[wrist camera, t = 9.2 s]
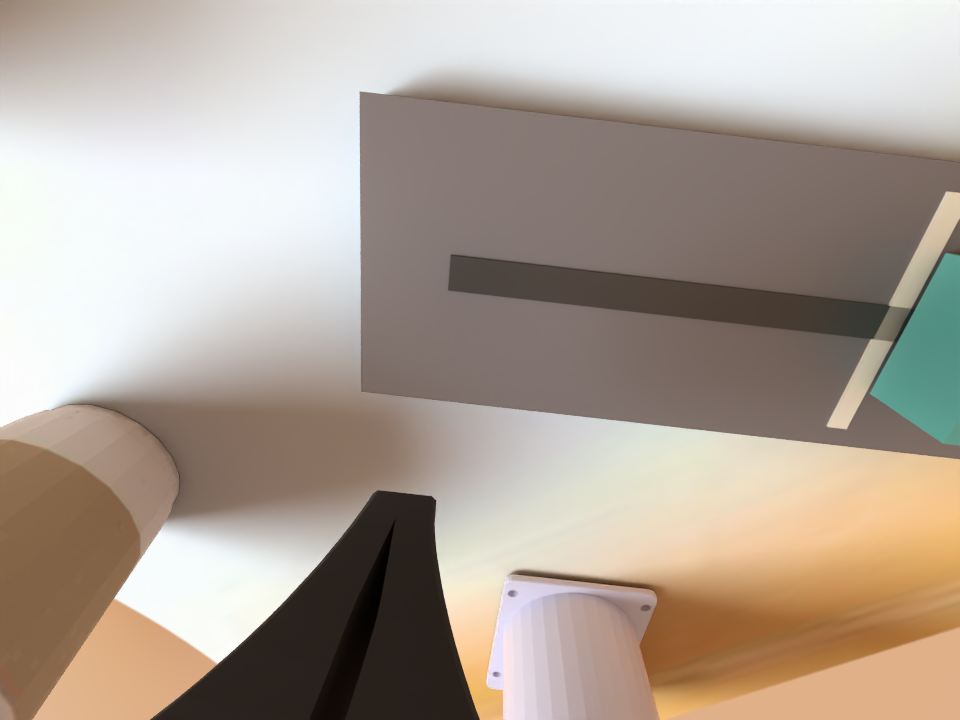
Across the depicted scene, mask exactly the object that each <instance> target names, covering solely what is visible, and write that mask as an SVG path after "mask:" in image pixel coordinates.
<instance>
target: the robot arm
mask: <svg viewBox="0 0 960 720" xmlns="http://www.w3.org/2000/svg"><path fill="white" fill-rule="evenodd" d="M435 511H436V500H435V499H434V498H433V497H432V496H424V495H415V494H406V493H397V492H388V491H379V490H378V491H376V492H375V493H373V495H372V496H371V498H370V499H369V501H368V502H367V504H366V505H365V507H364V508H363V509H362V511H361V512H360V514H359V515H358V516H357V518H356V519H355V520H354V522H353V523H352V524H351V526H350V527H349V528H348V529H347V531H346V532H345V533H344V535H343V536H342V537H341V538H340V540H339V541H338V542H337V543H336V544H335V545H334V547H333V548H332V549H331V550H330V551H329V553H328V554H327V555H326V556H325V557H324V559H323V560H322V561H321V562H320V563H319V565H318V566H317V567H316V568H315V569H314V570H313V571H312V572H311V574H310V575H309V576H308V577H307V578H306V579H305V580H304V581H303V582H302V583H301V584H300V585H299V586H298V588H297V589H296V590H295V591H294V592H293V593H292V594H291V595H290V596H289V597H288V598H287V599H286V600H285V601H284V603H283V604H282V605H281V606H280V607H279V608H278V609H277V610H276V611H275V612H274V613H273V614H272V615H271V616H270V617H269V618H268V619H267V620H266V621H264V622H263V623H262V624H261V625H260V626H259V627H258V628H257V629H256V630H255V631H254V632H253V633H252V634H251V635H250V636H249V637H248V638H247V639H246V640H244V641H243V642H242V643H241V644H240V645H239V646H238V647H237V648H236V649H235V650H233V651H232V652H231V653H230V654H229V655H228V656H227V657H225V658H224V659H223V660H222V661H221V662H220V663H219V664H218V665H216V666H215V667H214V668H213V669H212V670H211V671H210V672H208V673H207V674H206V675H205V676H204V677H203V678H201V679H200V680H199V681H198V682H197V683H196V684H194V685H193V686H192V687H191V688H190V689H188V690H187V691H186V692H185V693H184V694H182V695H181V696H180V697H179V698H177V699H176V700H175V701H174V702H172V703H171V704H170V705H169V706H167V707H166V708H165V709H163V710H162V711H161V712H159V713H158V714H157V715H156V716H154V717H153V718H152V719H151V720H480V719H479V716H478V714H477V711H476V708H475V706H474V703H473V700H472V697H471V694H470V690H469V687H468V684H467V681H466V678H465V675H464V672H463V669H462V665H461V662H460V658H459V655H458V652H457V648H456V645H455V641H454V637H453V633H452V629H451V625H450V621H449V617H448V613H447V608H446V604H445V600H444V595H443V590H442V584H441V578H440V572H439V566H438V560H437V552H436V542H435V526H434V522H435ZM657 600H658V599H657V596H656V594H655V592H654V591H652V590H649V589H642V588H633V587H624V586H615V585H606V584H597V583H588V582H579V581H570V580H561V579H552V578H543V577H533V576H524V575H515V574H514V575H509V576H507V577H506V578H505V580H504V586H503V591H502V597H501V602H500V607H499V613H498V618H497V624H496V629H495V634H494V640H493V645H492V651H491V656H490V661H489V667H488V672H487V678H486V684H487V686H488V687H489V688H491V689H498V690H503V720H660V719H659V716H658V712H657V708H656V705H655V701H654V697H653V694H652V690H651V686H650V683H649V679H648V675H647V672H646V668H645V664H644V661H643V657H642V653H641V650H640V644H641V641H642V639H643V636H644V634H645V631H646V629H647V626H648V624H649V621H650V619H651V616H652V614H653V611H654V609H655V606H656V604H657Z"/></svg>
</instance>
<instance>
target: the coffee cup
mask: <svg viewBox="0 0 960 720" xmlns="http://www.w3.org/2000/svg"><path fill="white" fill-rule="evenodd" d="M178 494H179V474H178V471H177V468H176V466H175V463H174V460H173V458H172V457H171V455H170V454H169V452H168V451H167V450H166V448H165V447H164V446H163V444H162V443H161V442H160V440H159V439H157V438H156V437H155V436H154V435H153V434H151V433H150V432H149V431H148V430H147V429H145V428H144V427H143V426H142V425H140V424H139V423H137V422H135V421H133V420H131V419H130V418H128V417H126V416H124V415H122V414H120V413H118V412H116V411H112V410H109V409H105V408H101V407H97V406H94V405H65V406H62V407H59V408H56V409H53V410H45V411H42V412H39V413H36V414H33V415H30V416H26V417H24V418H21V419H19V420H17V421H14V422H12V423H10V424H7V425H5V426H3V427H0V720H32V719H33V718H34V716H35V715H36V713H37V711H38V710H39V709H40V707H41V706H42V704H43V703H44V701H45V700H46V698H47V697H48V695H49V694H50V692H51V691H52V689H53V688H54V686H55V685H56V683H57V682H58V680H59V679H60V678H61V676H62V675H63V673H64V672H65V670H66V668H67V667H68V666H69V664H70V663H71V661H72V660H73V658H74V657H75V655H76V654H77V652H78V651H79V649H80V648H81V646H82V645H83V643H84V642H85V640H86V639H87V637H88V636H89V635H90V633H91V632H92V630H93V629H94V627H95V626H96V624H97V622H98V621H99V620H100V618H101V617H102V615H103V614H104V612H105V611H106V609H107V608H108V606H109V605H110V603H111V602H112V600H113V599H114V597H115V596H116V594H117V593H118V592H119V590H120V589H121V587H122V586H123V584H124V583H125V581H126V580H127V578H128V577H129V575H130V574H131V572H132V571H133V569H134V568H135V566H136V565H137V563H138V562H139V560H140V559H141V557H142V556H143V554H144V553H145V551H146V550H147V548H148V547H149V546H150V544H151V543H152V541H153V540H154V538H155V537H156V535H157V534H158V532H159V531H160V529H161V528H162V526H163V525H164V523H165V521H166V520H167V518H168V516H169V514H170V512H171V510H172V505H173V503H174V501H175V499H176V497H177V496H178Z"/></svg>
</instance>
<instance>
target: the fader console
mask: <svg viewBox="0 0 960 720" xmlns="http://www.w3.org/2000/svg"><path fill="white" fill-rule="evenodd" d="M360 215H361V384H362V392H371V393H379V394H388V395H397V396H406V397H415V398H424V399H432V400H441V401H450V402H459V403H468V404H477V405H486V406H494V407H503V408H512V409H521V410H530V411H539V412H547V413H556V414H565V415H574V416H583V417H592V418H601V419H609V420H618V421H627V422H636V423H645V424H654V425H662V426H671V427H680V428H689V429H698V430H707V431H716V432H724V433H733V434H742V435H751V436H760V437H769V438H777V439H786V440H795V441H804V442H813V443H822V444H831V445H839V446H848V447H857V448H866V449H875V450H884V451H892V452H901V453H910V454H919V455H928V456H937V457H946V458H954V459H960V446H959V445H950V444H943V443H941V442H940V441H938V440H937V439H935V438H934V437H932V436H931V435H929V434H928V433H927V432H925V431H924V430H922V429H921V428H919V427H918V426H916V425H915V424H913V423H912V422H910V421H909V420H908V419H906V418H905V417H903V416H902V415H900V414H899V413H897V412H896V411H894V410H893V409H891V408H890V407H889V406H887V405H886V404H884V403H883V402H881V401H880V400H878V399H877V398H875V397H874V396H872V395H871V394H870V392H871V390H872V389H873V387H874V385H875V383H876V381H877V379H878V377H879V376H880V374H881V372H882V370H883V368H884V366H885V364H886V363H887V361H888V359H889V357H890V355H891V353H892V352H893V350H894V348H895V346H896V344H897V342H898V340H899V339H900V337H901V335H902V333H903V331H904V329H905V328H906V326H907V324H908V322H909V320H910V318H911V316H912V315H913V313H914V311H915V309H916V307H917V305H918V303H919V302H920V300H921V298H922V296H923V294H924V292H925V291H926V289H927V287H928V285H929V283H930V281H931V279H932V278H933V276H934V274H935V272H936V270H937V268H938V267H939V265H940V263H941V261H942V259H943V257H944V255H945V254H946V253H951V254H959V255H960V162H953V161H944V160H936V159H927V158H919V157H910V156H902V155H894V154H885V153H877V152H868V151H860V150H851V149H843V148H834V147H826V146H817V145H809V144H800V143H792V142H783V141H775V140H766V139H758V138H749V137H741V136H732V135H724V134H715V133H707V132H698V131H690V130H681V129H673V128H664V127H656V126H647V125H639V124H630V123H622V122H614V121H605V120H597V119H588V118H580V117H571V116H563V115H554V114H546V113H537V112H529V111H520V110H512V109H503V108H495V107H486V106H478V105H469V104H461V103H452V102H444V101H435V100H427V99H418V98H410V97H401V96H393V95H384V94H376V93H367V92H360Z"/></svg>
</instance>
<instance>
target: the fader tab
mask: <svg viewBox="0 0 960 720" xmlns="http://www.w3.org/2000/svg"><path fill="white" fill-rule="evenodd" d="M870 394H871V395H872V396H874V397H875V398H877V399H878V400H880V401H881V402H883V403H884V404H886V405H887V406H889V407H890V408H891V409H893V410H894V411H896V412H897V413H899V414H900V415H902V416H903V417H905V418H906V419H908V420H909V421H910V422H912V423H913V424H915V425H916V426H918V427H919V428H921V429H922V430H924V431H925V432H927V433H928V434H929V435H931V436H932V437H934V438H935V439H937V440H938V441H940V442H941V443H943V444H950V445H959V446H960V255H959V254H951V253H946V254H945V255H944V257H943V259H942V261H941V263H940V265H939V267H938V268H937V270H936V272H935V274H934V276H933V278H932V279H931V281H930V283H929V285H928V287H927V289H926V291H925V292H924V294H923V296H922V298H921V300H920V302H919V303H918V305H917V307H916V309H915V311H914V313H913V315H912V316H911V318H910V320H909V322H908V324H907V326H906V328H905V329H904V331H903V333H902V335H901V337H900V339H899V340H898V342H897V344H896V346H895V348H894V350H893V352H892V353H891V355H890V357H889V359H888V361H887V363H886V364H885V366H884V368H883V370H882V372H881V374H880V376H879V377H878V379H877V381H876V383H875V385H874V387H873V389H872V390H871V392H870Z"/></svg>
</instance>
